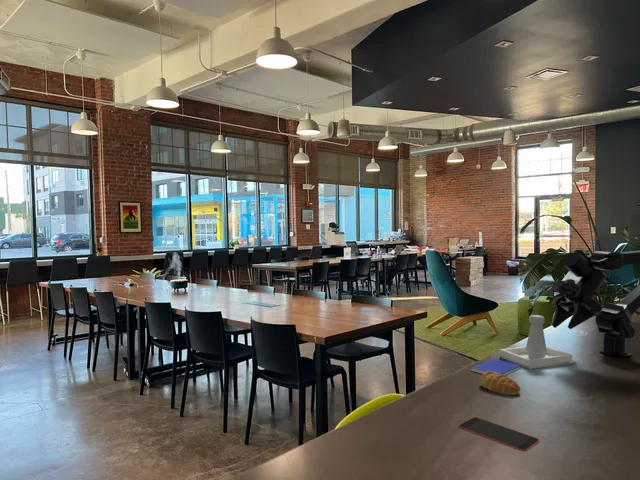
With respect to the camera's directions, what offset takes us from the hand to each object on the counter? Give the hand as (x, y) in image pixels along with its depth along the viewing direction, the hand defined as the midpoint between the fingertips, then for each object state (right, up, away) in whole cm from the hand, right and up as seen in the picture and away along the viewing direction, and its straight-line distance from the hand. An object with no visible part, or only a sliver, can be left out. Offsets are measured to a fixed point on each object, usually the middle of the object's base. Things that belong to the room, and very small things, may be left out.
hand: (561, 327), depth 140 cm
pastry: (-29, -11, -25) cm, 39 cm away
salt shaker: (-8, -9, -1) cm, 12 cm away
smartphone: (-39, -12, -50) cm, 64 cm away
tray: (-9, -10, -1) cm, 13 cm away
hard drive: (-24, -11, -10) cm, 28 cm away
